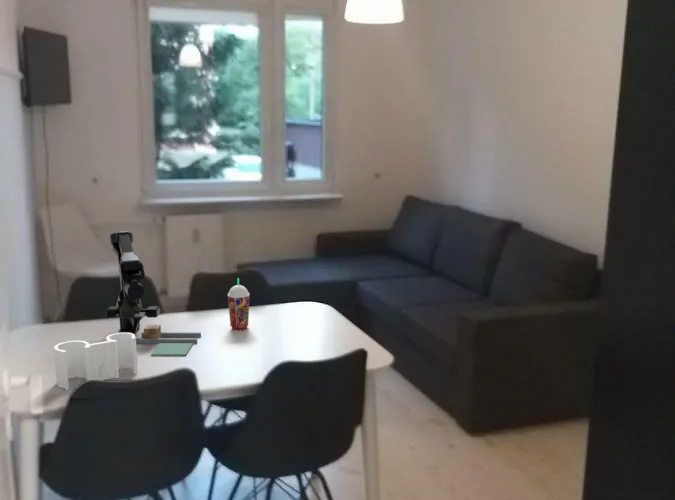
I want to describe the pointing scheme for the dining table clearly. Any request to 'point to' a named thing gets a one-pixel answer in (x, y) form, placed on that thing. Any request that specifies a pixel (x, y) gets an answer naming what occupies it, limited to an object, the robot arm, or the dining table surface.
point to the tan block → (152, 331)
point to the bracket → (95, 358)
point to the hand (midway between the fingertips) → (134, 334)
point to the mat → (172, 349)
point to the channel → (171, 340)
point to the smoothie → (238, 307)
